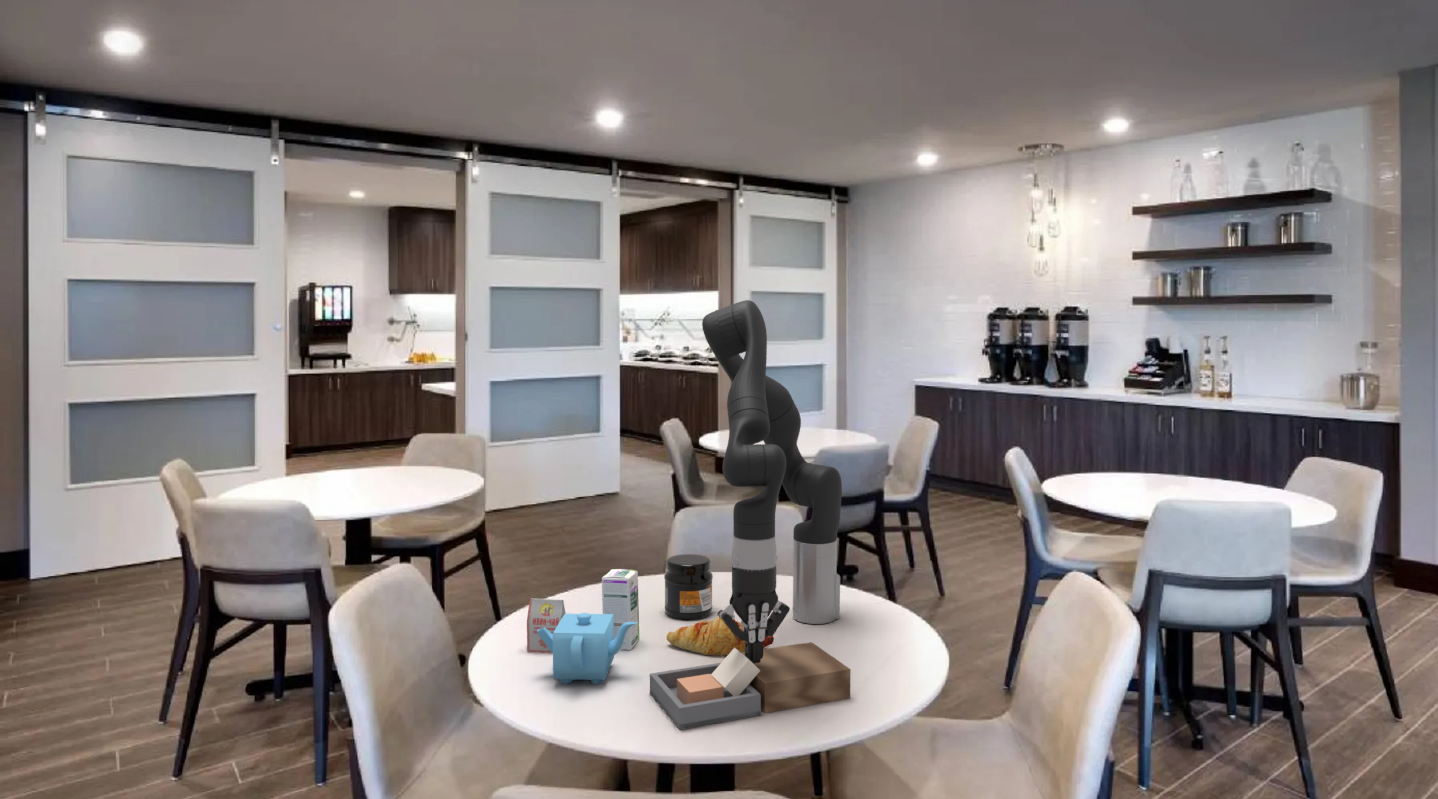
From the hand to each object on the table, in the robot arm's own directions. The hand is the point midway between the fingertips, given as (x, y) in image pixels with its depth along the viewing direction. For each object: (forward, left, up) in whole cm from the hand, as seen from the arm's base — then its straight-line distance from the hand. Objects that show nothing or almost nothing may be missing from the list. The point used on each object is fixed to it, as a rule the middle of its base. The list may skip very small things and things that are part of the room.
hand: (753, 661), depth 155 cm
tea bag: (+28, -35, -6) cm, 45 cm away
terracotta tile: (+10, 0, -2) cm, 10 cm away
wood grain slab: (-7, 0, -6) cm, 9 cm away
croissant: (-3, -23, -6) cm, 24 cm away
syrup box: (+14, -32, -6) cm, 36 cm away
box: (+9, 0, -6) cm, 11 cm away
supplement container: (-5, -45, -6) cm, 46 cm away
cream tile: (+3, +1, -2) cm, 4 cm away
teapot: (+24, -19, -6) cm, 31 cm away
